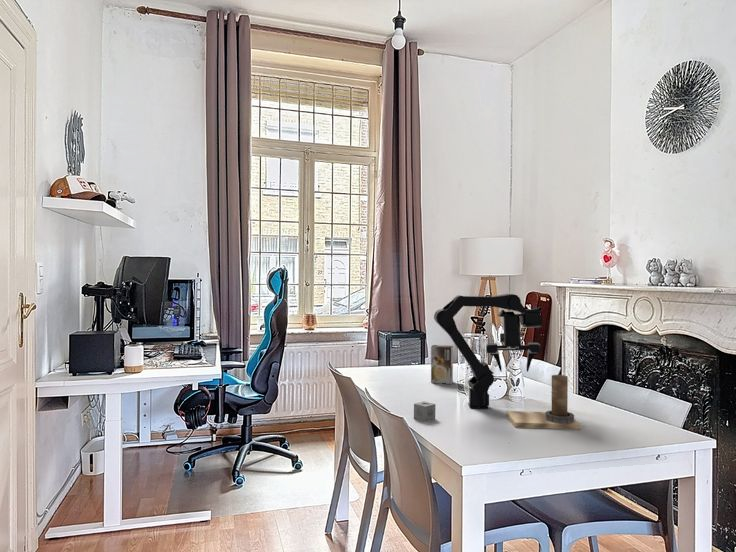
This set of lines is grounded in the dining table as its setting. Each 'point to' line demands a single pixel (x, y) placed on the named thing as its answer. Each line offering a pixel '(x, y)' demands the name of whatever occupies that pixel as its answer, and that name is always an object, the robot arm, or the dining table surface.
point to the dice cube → (424, 411)
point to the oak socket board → (542, 420)
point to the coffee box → (441, 364)
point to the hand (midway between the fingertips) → (514, 371)
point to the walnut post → (559, 395)
